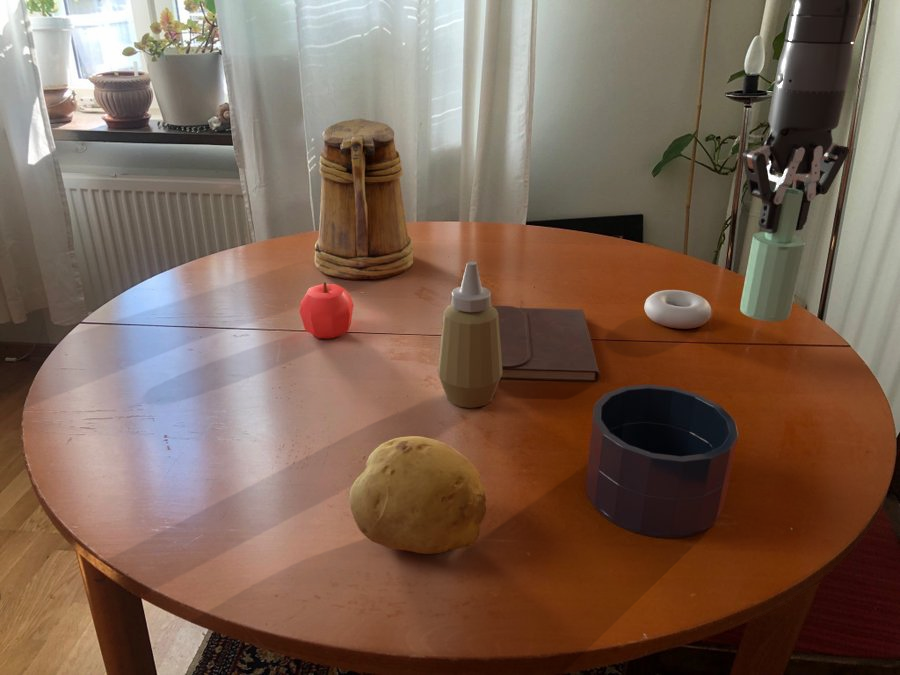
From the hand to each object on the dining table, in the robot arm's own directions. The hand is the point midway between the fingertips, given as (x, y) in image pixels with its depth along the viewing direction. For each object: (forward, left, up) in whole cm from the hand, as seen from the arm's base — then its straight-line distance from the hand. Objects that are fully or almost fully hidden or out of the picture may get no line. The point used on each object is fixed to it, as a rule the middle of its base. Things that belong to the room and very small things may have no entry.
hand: (781, 229), depth 91 cm
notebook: (+29, -1, -20) cm, 35 cm away
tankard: (+63, -26, -20) cm, 71 cm away
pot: (+14, +30, -20) cm, 39 cm away
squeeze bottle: (+36, +15, -20) cm, 44 cm away
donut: (+9, -15, -20) cm, 27 cm away
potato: (+36, +41, -20) cm, 58 cm away
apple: (+60, +1, -20) cm, 63 cm away
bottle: (0, 0, -11) cm, 11 cm away
